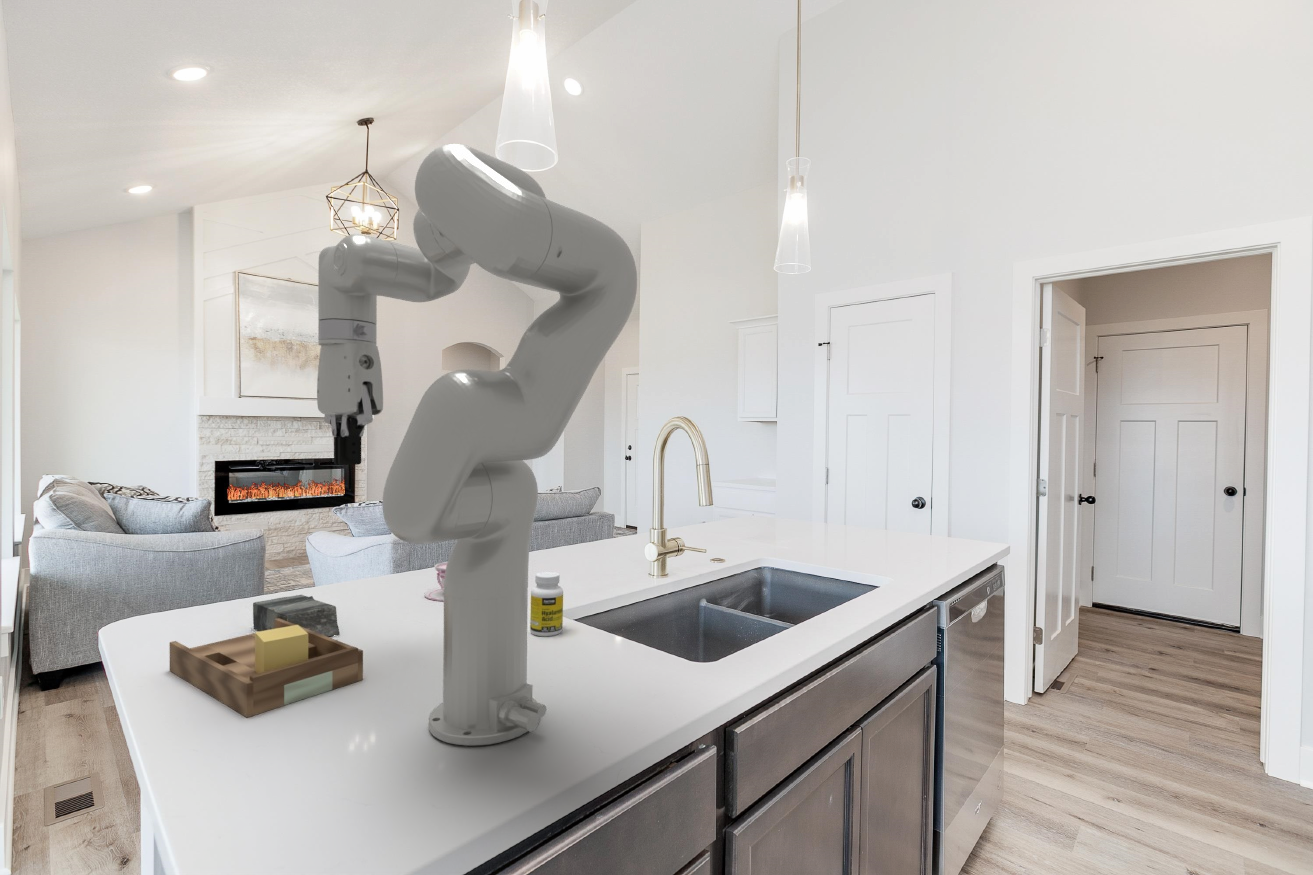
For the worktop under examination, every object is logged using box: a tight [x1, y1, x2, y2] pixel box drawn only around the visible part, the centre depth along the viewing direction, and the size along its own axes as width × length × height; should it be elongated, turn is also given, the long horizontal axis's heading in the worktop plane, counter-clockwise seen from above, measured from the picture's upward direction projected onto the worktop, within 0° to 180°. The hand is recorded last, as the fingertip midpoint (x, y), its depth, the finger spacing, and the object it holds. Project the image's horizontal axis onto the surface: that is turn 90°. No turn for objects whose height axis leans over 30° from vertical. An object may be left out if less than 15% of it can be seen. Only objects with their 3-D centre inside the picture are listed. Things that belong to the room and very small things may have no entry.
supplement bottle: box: [529, 571, 564, 637], centre depth 109 cm, size 5×5×10 cm
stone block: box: [252, 594, 341, 637], centre depth 108 cm, size 9×14×5 cm, turn 50°
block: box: [254, 625, 308, 674], centre depth 84 cm, size 5×5×5 cm
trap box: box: [169, 618, 364, 718], centre depth 89 cm, size 24×14×4 cm, turn 55°
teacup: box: [424, 560, 448, 602], centre depth 133 cm, size 12×12×6 cm
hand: (347, 464), depth 93 cm, fingers closed
